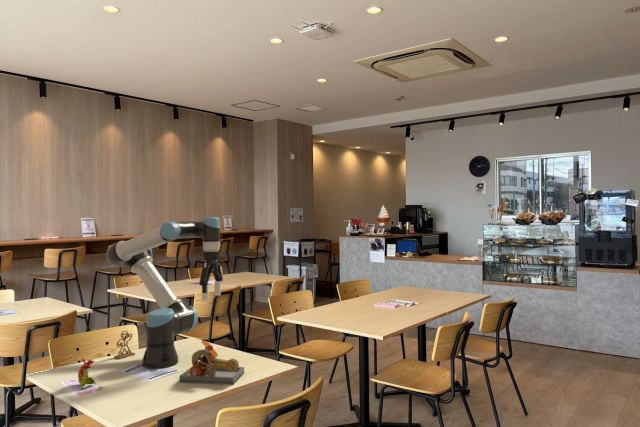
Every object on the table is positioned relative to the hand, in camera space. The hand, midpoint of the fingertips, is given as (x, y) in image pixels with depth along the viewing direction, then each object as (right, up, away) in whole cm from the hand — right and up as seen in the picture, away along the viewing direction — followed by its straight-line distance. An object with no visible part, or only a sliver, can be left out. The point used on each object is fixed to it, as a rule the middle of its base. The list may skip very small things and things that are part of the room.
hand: (211, 297), depth 221 cm
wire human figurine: (-42, -29, +6) cm, 51 cm away
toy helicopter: (+7, -27, -28) cm, 39 cm away
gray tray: (+6, -28, -25) cm, 38 cm away
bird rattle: (-42, -28, -33) cm, 61 cm away
